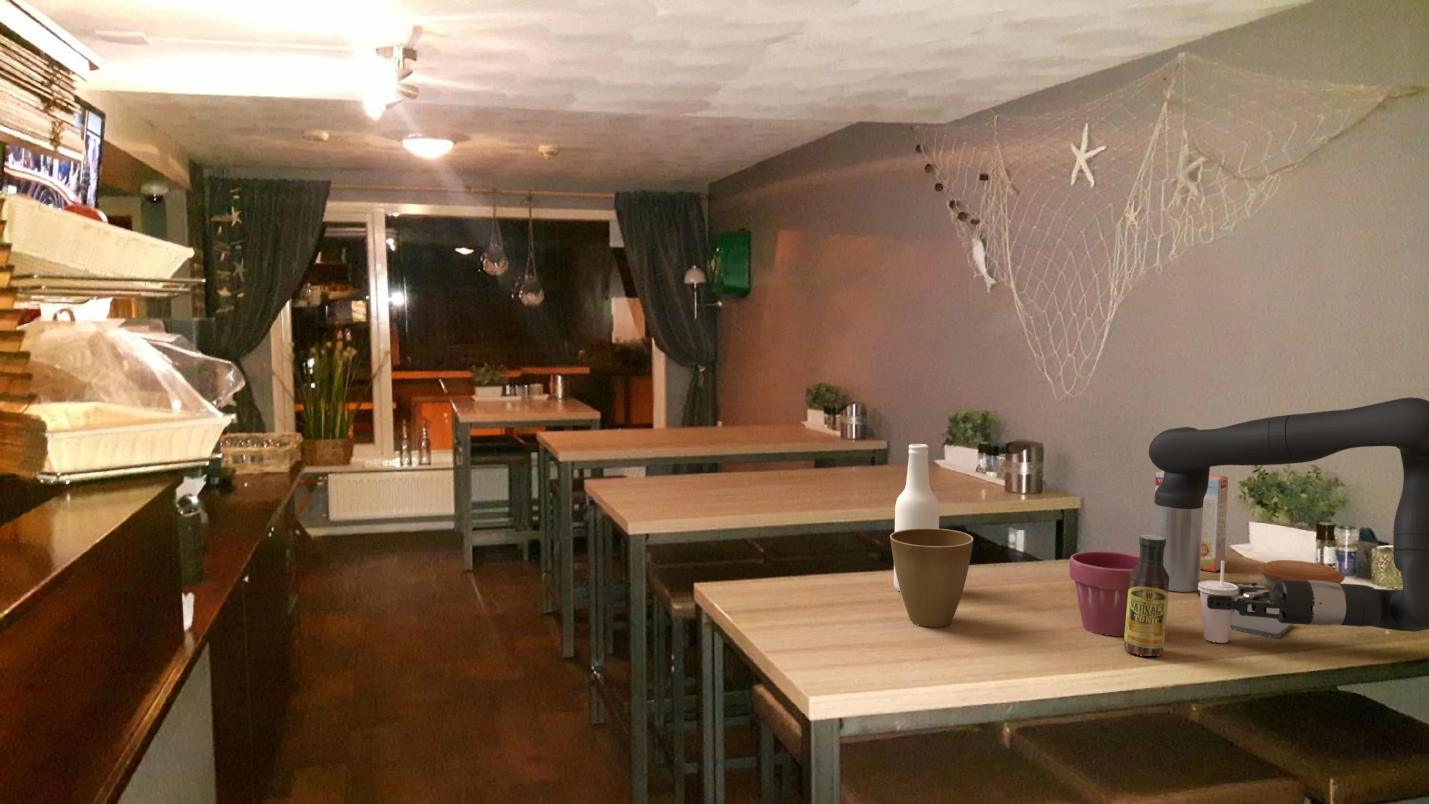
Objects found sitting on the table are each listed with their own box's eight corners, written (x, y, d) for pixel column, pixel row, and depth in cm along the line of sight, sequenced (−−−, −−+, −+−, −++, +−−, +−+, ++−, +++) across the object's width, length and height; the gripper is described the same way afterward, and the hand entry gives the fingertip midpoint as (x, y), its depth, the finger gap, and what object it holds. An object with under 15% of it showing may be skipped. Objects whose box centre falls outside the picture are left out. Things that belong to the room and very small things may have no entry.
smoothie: (1234, 647, 174) (1238, 566, 173) (1193, 641, 178) (1196, 561, 176) (1238, 637, 180) (1241, 559, 178) (1198, 631, 183) (1201, 554, 182)
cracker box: (1225, 568, 229) (1229, 475, 227) (1215, 573, 225) (1219, 478, 223) (1161, 557, 239) (1165, 468, 237) (1151, 561, 235) (1155, 471, 233)
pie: (1240, 583, 217) (1241, 559, 217) (1293, 576, 223) (1294, 553, 222) (1306, 602, 203) (1308, 577, 202) (1361, 594, 209) (1362, 570, 208)
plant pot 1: (918, 605, 199) (920, 524, 198) (986, 622, 189) (989, 536, 187) (872, 621, 189) (873, 535, 187) (941, 640, 178) (943, 549, 177)
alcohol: (904, 597, 204) (907, 448, 202) (886, 585, 213) (889, 442, 210) (944, 594, 207) (948, 447, 204) (925, 583, 215) (929, 441, 212)
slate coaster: (1217, 626, 187) (1217, 622, 187) (1234, 614, 194) (1234, 610, 194) (1277, 638, 180) (1277, 634, 180) (1293, 625, 187) (1293, 621, 187)
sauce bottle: (1123, 655, 170) (1128, 538, 169) (1123, 644, 176) (1128, 530, 174) (1166, 661, 168) (1171, 542, 166) (1165, 649, 174) (1170, 534, 172)
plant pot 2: (1050, 622, 189) (1053, 553, 188) (1108, 613, 194) (1111, 547, 193) (1108, 645, 176) (1111, 572, 174) (1169, 635, 181) (1172, 564, 180)
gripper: (1296, 570, 181) (1194, 565, 185) (1325, 592, 167) (1214, 586, 171) (1294, 611, 182) (1192, 605, 186) (1322, 637, 168) (1212, 629, 172)
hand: (1203, 596), depth 178 cm, fingers closed on smoothie, 6 cm apart
